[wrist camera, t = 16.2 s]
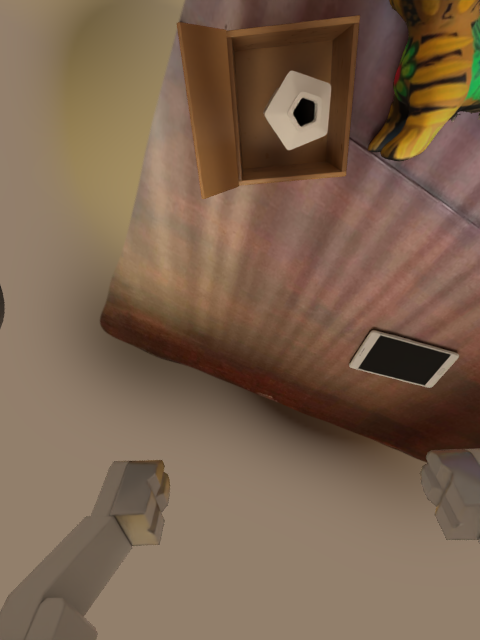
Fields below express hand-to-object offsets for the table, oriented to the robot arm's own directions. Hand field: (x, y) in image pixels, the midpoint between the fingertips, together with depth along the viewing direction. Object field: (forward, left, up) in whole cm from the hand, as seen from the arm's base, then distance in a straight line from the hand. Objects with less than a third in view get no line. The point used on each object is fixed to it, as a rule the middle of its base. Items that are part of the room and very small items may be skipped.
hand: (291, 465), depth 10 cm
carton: (+3, +9, -33) cm, 34 cm away
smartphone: (+21, -25, -33) cm, 47 cm away
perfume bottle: (+3, +9, -33) cm, 34 cm away
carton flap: (-3, +9, -23) cm, 25 cm away
